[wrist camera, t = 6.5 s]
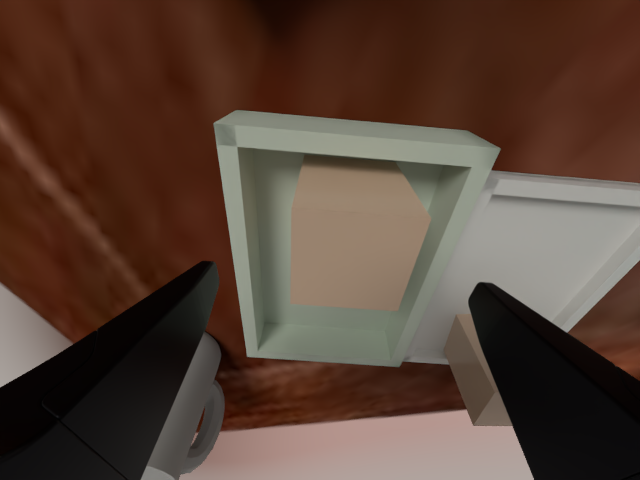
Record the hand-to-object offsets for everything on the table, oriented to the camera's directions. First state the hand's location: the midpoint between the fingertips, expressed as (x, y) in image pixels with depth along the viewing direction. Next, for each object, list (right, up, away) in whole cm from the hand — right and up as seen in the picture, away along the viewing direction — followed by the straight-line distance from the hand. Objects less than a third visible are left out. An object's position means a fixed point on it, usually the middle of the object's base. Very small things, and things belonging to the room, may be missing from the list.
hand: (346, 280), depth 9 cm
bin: (0, +1, +8) cm, 8 cm away
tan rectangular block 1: (0, +4, +5) cm, 6 cm away
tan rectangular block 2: (+11, -6, +11) cm, 17 cm away
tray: (+12, -2, +9) cm, 15 cm away
